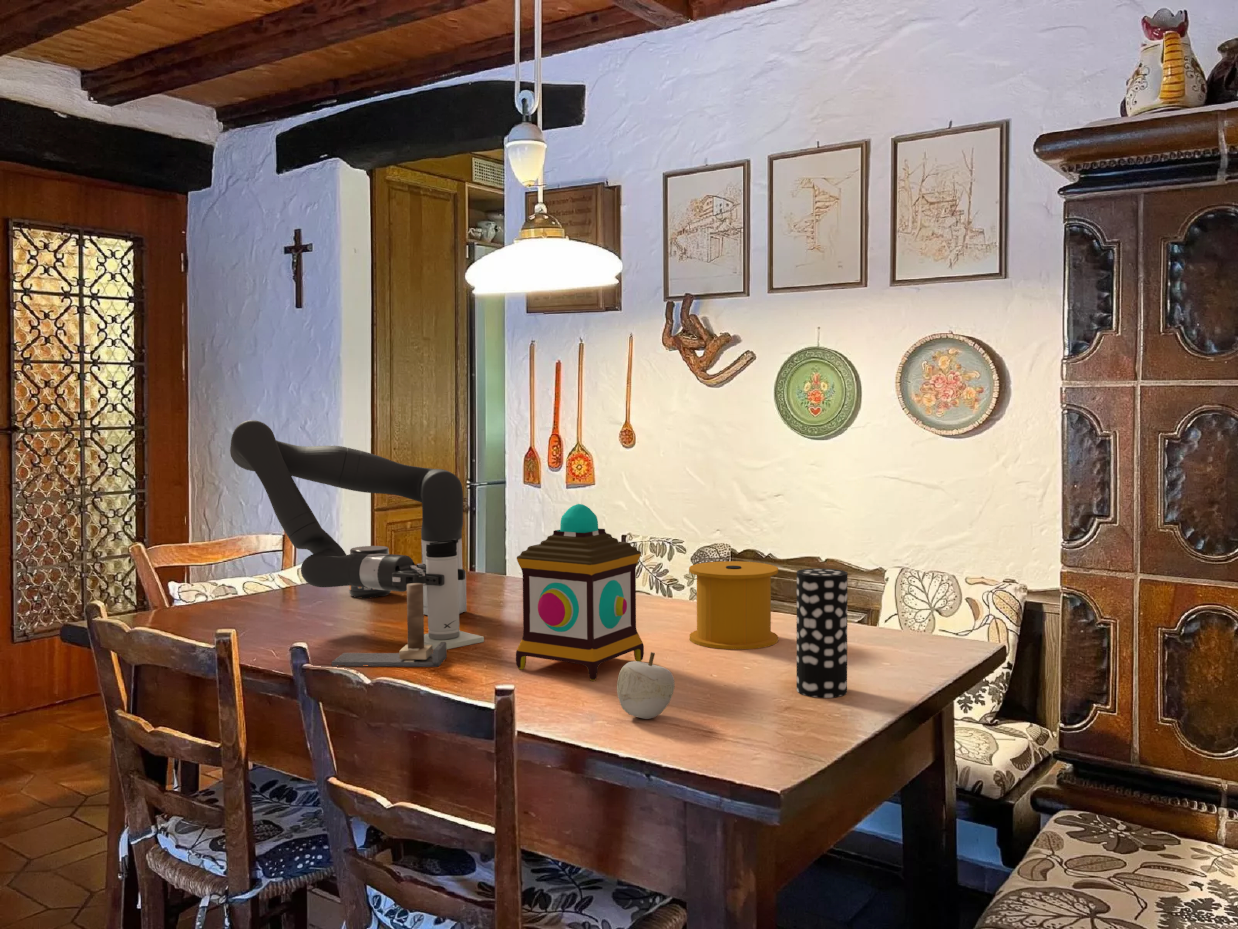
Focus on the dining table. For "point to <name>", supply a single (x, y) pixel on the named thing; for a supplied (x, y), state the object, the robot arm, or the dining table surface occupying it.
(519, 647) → the decorative lantern
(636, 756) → the dining table surface
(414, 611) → the post
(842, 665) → the spotted tube
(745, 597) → the spool
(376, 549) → the supplement container
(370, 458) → the robot arm
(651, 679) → the decorative object
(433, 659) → the rail
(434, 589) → the travel mug
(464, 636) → the pad
